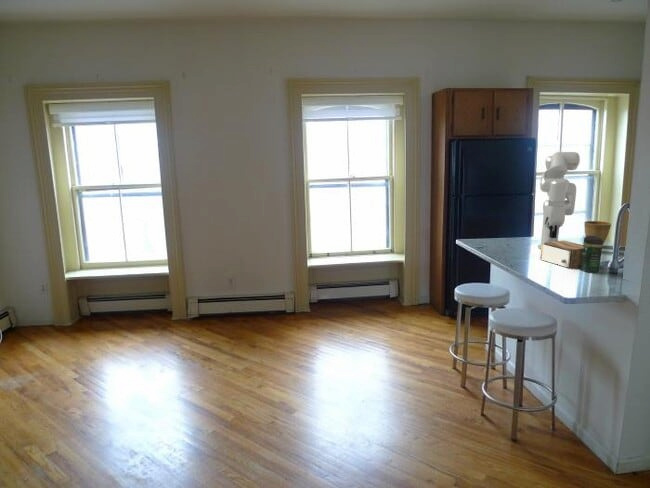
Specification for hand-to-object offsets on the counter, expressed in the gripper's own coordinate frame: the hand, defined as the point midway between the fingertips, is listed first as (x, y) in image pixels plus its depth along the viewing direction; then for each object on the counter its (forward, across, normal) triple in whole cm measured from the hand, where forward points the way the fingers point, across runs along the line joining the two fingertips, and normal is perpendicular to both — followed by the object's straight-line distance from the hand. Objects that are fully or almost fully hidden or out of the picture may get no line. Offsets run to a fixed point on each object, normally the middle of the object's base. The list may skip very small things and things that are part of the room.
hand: (552, 237), depth 236 cm
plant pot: (+19, -65, -28) cm, 73 cm away
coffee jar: (+16, -13, +14) cm, 25 cm away
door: (+16, -5, -3) cm, 17 cm away
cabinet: (+17, -14, -2) cm, 22 cm away
